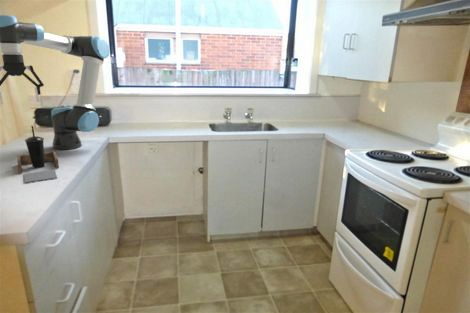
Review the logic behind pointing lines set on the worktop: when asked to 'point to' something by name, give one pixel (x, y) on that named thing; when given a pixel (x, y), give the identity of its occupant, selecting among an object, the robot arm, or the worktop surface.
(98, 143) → the worktop surface
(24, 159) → the open wooden frame
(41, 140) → the drinking cup
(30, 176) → the mat
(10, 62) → the robot arm
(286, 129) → the worktop surface
